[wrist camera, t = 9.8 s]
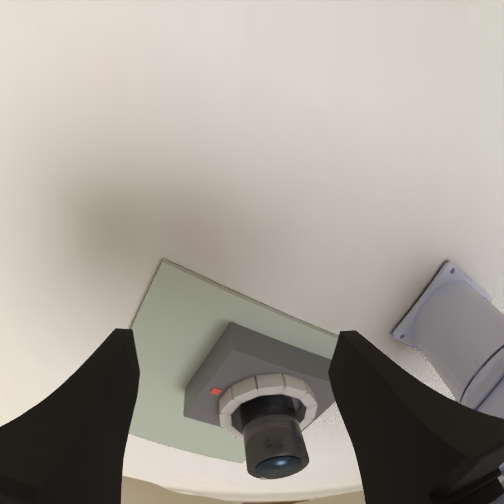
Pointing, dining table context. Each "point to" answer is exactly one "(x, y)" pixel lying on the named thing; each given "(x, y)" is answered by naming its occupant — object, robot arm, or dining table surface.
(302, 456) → the lens
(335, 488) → the dining table surface
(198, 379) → the camera body
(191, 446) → the mat
